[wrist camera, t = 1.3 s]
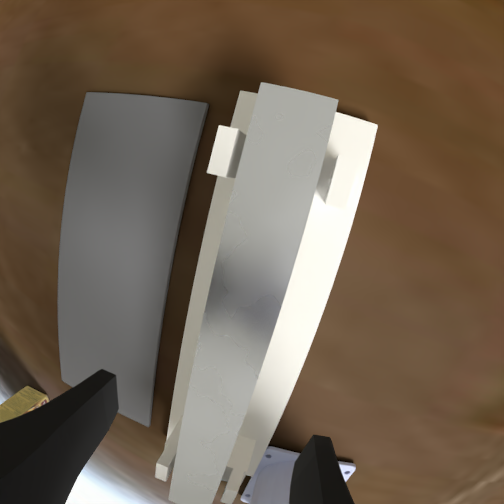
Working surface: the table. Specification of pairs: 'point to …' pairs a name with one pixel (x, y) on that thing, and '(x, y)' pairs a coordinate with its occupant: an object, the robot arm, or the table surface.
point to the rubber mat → (123, 237)
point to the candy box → (22, 403)
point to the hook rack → (298, 291)
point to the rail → (250, 279)
